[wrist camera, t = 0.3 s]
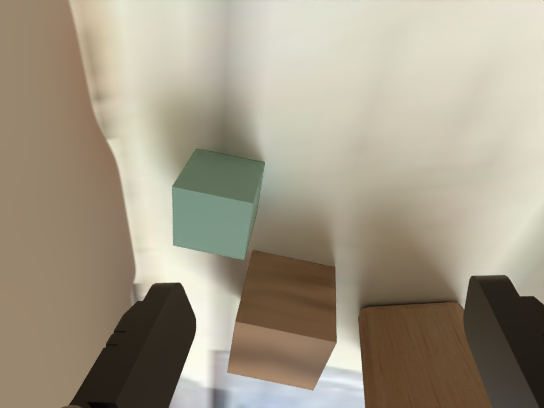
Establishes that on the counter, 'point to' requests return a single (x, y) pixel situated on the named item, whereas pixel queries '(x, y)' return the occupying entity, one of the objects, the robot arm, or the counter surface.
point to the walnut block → (285, 321)
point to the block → (418, 358)
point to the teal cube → (216, 203)
